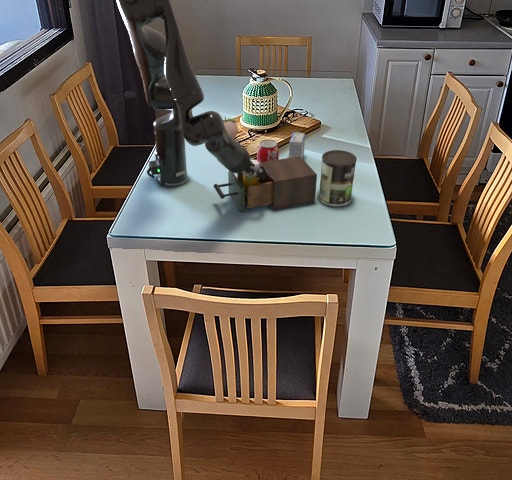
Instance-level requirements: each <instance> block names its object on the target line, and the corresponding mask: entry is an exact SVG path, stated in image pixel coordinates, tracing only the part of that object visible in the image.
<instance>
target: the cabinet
mask: <svg viewBox="0 0 512 480" xmlns="http://www.w3.org/2000/svg"><path fill="white" fill-rule="evenodd" d="M260 166H263V167H264V169H265V170H266V172H267V175H268V177H269V178H270V179H271V180H272V182H273V204H270V205H269V207H270V208H271V209H272V210H273V211H276V210H281V209H287V208H292V207H297V206H304V205H310V204H315V202H316V192H317V181H318V174H317V172H316V171H314V169H313V168H312V167H311V166H310V165H309V164H308V163H307V162H306V160H304V158H303V159H302V158H301V157H300V156H298V157H292V158H289V157H286V158H279V160H273V161H266V162H260V163H259V167H260Z"/></svg>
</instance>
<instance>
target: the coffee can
mask: <svg viewBox="0 0 512 480" xmlns="http://www.w3.org/2000/svg"><path fill="white" fill-rule="evenodd" d="M356 165H357V156H356V155H355V154H354V153H352V152H350V151H346V150H342V149H341V150H340V149H337V150H336V149H333V150H328V151H325V152H324V153H322V156H321V170H320V180H319V192H318V200H319V201H320V202H321V203H322V204H324V205H326V206H329V207H344V206H347V205H349V204H350V203H351V201H352V194H353V193H352V192H353V188H354V187H353V186H354V179H355V171H356Z"/></svg>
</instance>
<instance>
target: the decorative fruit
mask: <svg viewBox="0 0 512 480" xmlns="http://www.w3.org/2000/svg"><path fill="white" fill-rule="evenodd" d="M222 120H223V123H224V126H225V128H226V130H227V132H228V134H229V135H230V136H231V137H232V138H234V139H235V138H236V136H237V135H238V125H237V123H239V122H238V120H237V119H235V118H227V117H226V116H224V119H223V118H222Z"/></svg>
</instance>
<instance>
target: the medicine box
mask: <svg viewBox="0 0 512 480" xmlns="http://www.w3.org/2000/svg"><path fill="white" fill-rule="evenodd" d="M305 142H306V133H304V132H292V135H291V137H290V140H289V144H288V158H292V157H298V156H300V157H301V158H302V159H303V160H304V157H305V146H306V145H305V144H306V143H305Z"/></svg>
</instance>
